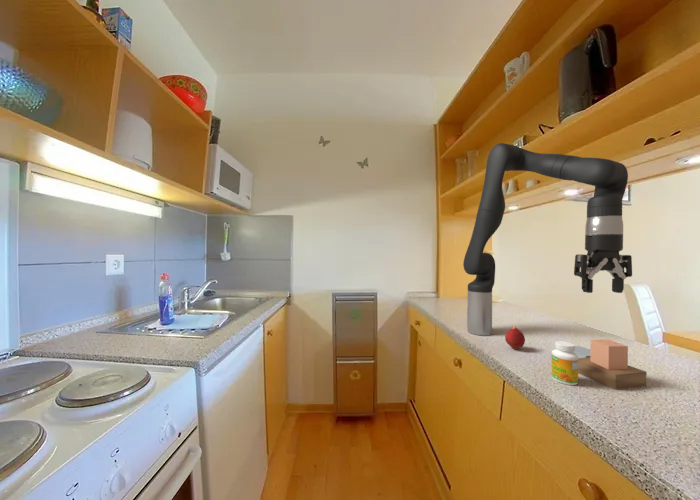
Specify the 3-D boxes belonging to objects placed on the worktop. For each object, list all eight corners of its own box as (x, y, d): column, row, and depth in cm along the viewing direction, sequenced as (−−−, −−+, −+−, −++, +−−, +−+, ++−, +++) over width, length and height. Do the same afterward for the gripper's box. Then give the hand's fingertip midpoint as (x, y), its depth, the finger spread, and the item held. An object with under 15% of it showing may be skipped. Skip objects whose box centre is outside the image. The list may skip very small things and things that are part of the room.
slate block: (561, 360, 82) (561, 347, 82) (579, 358, 84) (579, 346, 84) (585, 370, 76) (585, 356, 76) (604, 368, 77) (604, 354, 77)
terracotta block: (590, 361, 72) (590, 339, 72) (608, 361, 73) (608, 339, 72) (608, 369, 67) (608, 346, 67) (627, 369, 68) (627, 346, 67)
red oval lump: (520, 346, 93) (520, 324, 93) (528, 353, 87) (528, 329, 87) (502, 345, 94) (502, 323, 94) (509, 351, 88) (509, 328, 88)
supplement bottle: (546, 377, 70) (546, 341, 70) (559, 374, 72) (560, 339, 72) (569, 387, 65) (569, 348, 65) (583, 383, 67) (583, 345, 67)
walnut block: (573, 372, 74) (573, 358, 74) (601, 370, 76) (601, 356, 76) (615, 391, 64) (615, 375, 64) (646, 387, 66) (646, 371, 66)
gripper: (614, 234, 76) (612, 290, 76) (566, 234, 76) (565, 290, 76) (644, 233, 69) (642, 295, 69) (591, 232, 68) (590, 294, 68)
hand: (602, 292), depth 72 cm, fingers open, 8 cm apart
